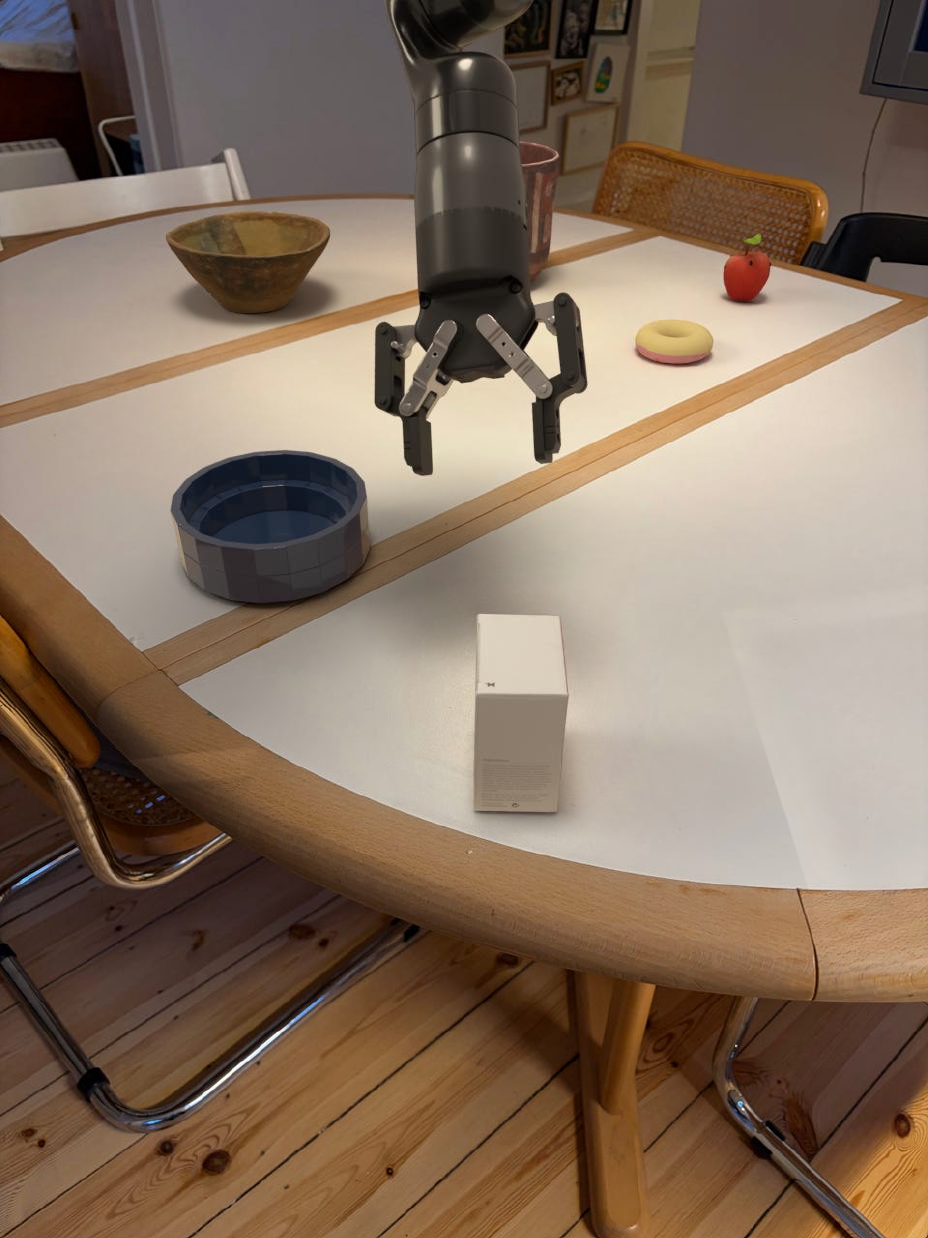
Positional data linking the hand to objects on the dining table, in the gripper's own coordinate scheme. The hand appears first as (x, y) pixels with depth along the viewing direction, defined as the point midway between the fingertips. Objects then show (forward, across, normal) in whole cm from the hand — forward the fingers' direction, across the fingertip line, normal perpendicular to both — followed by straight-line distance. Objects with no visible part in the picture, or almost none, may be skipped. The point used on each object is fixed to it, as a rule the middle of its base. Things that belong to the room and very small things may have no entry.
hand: (482, 468), depth 62 cm
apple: (-36, +14, +86) cm, 94 cm away
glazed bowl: (+3, -25, +15) cm, 29 cm away
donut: (-24, +5, +66) cm, 70 cm away
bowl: (-38, -52, +59) cm, 87 cm away
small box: (+21, 0, +2) cm, 21 cm away
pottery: (-43, -23, +79) cm, 93 cm away
